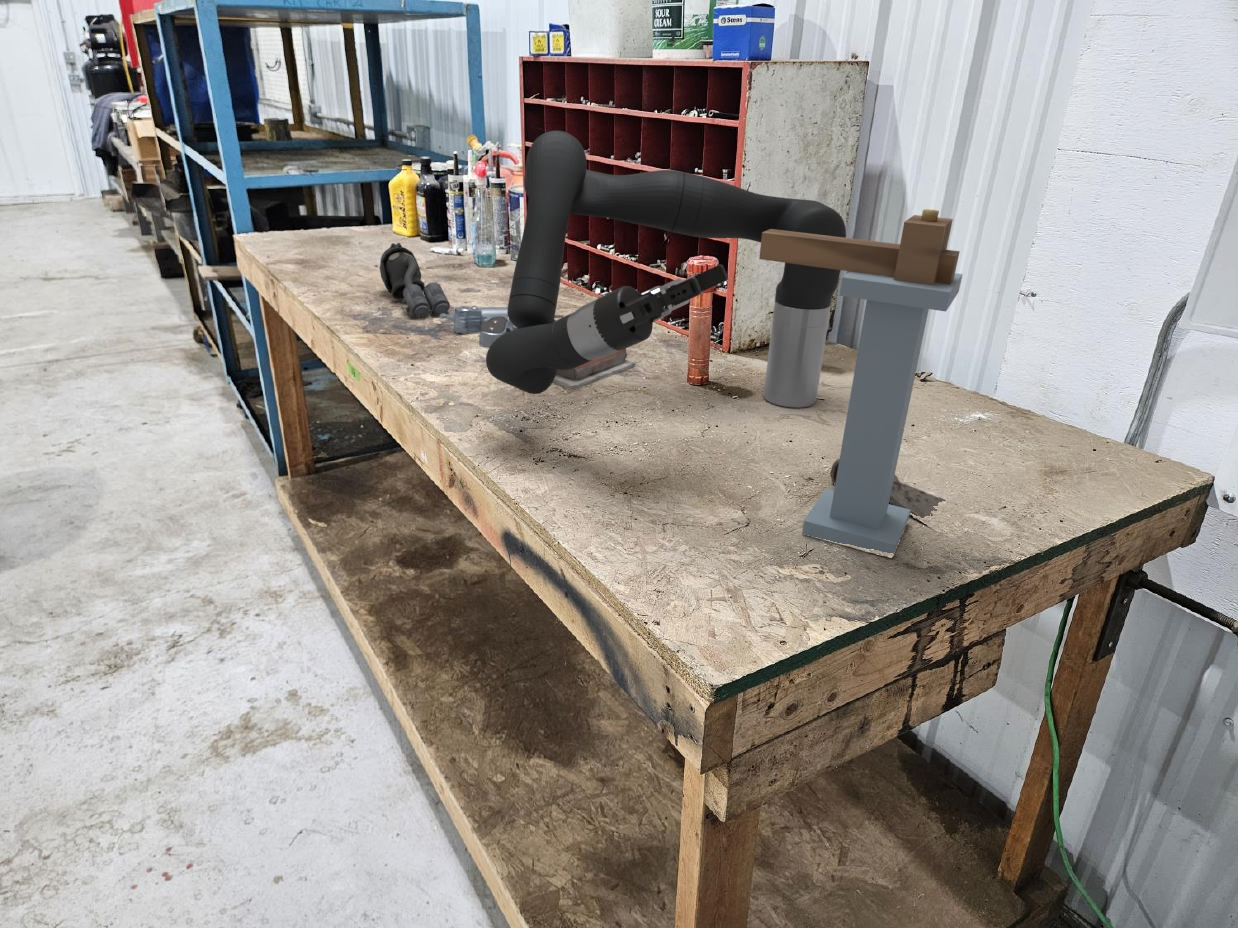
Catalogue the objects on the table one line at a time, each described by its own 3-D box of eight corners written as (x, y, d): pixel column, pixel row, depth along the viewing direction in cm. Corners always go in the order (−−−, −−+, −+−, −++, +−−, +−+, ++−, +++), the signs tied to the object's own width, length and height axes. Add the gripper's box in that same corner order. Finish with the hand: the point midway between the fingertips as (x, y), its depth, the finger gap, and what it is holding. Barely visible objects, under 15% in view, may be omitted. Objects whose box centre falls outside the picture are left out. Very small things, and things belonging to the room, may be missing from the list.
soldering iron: (461, 356, 160) (437, 327, 172) (586, 350, 174) (556, 324, 185) (463, 328, 158) (439, 301, 169) (590, 325, 171) (559, 299, 183)
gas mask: (408, 352, 186) (373, 278, 198) (446, 347, 190) (409, 274, 203) (413, 302, 175) (376, 226, 187) (453, 297, 179) (414, 224, 192)
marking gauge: (771, 252, 97) (778, 192, 94) (955, 276, 88) (969, 210, 85) (754, 261, 92) (761, 197, 89) (947, 287, 84) (962, 218, 80)
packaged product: (597, 333, 159) (636, 344, 154) (596, 357, 161) (635, 368, 156) (532, 353, 146) (573, 366, 141) (532, 379, 149) (573, 392, 143)
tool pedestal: (823, 501, 108) (863, 261, 94) (907, 523, 104) (962, 274, 90) (802, 534, 100) (842, 277, 86) (892, 559, 96) (950, 292, 82)
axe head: (1002, 507, 105) (969, 533, 99) (987, 538, 108) (954, 565, 101) (867, 436, 116) (830, 455, 110) (857, 465, 119) (819, 485, 113)
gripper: (569, 310, 101) (675, 259, 92) (622, 288, 113) (721, 240, 104) (594, 364, 103) (701, 320, 93) (644, 337, 114) (744, 294, 105)
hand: (711, 278), depth 99 cm, fingers open, 8 cm apart
